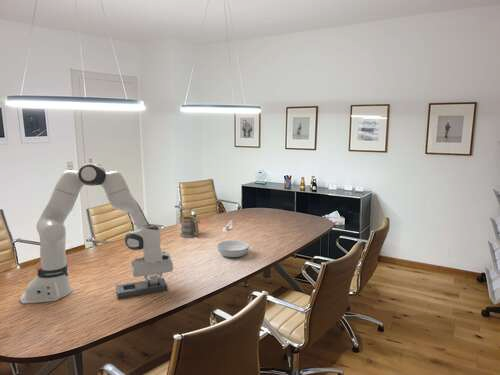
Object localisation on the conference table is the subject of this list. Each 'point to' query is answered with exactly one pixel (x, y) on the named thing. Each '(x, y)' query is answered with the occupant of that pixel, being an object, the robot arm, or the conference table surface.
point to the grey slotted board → (139, 288)
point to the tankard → (189, 227)
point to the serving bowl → (233, 248)
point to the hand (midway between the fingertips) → (153, 281)
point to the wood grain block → (153, 280)
